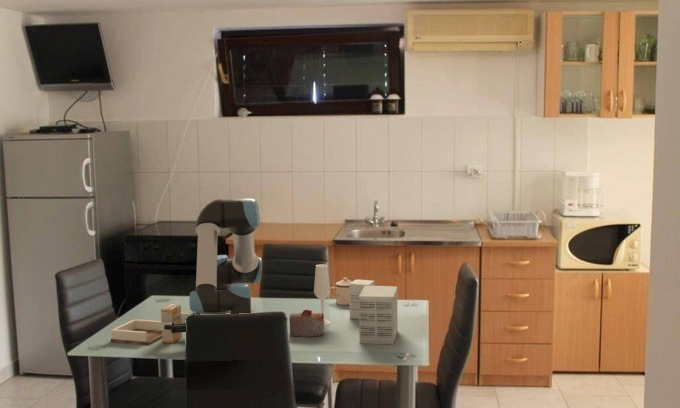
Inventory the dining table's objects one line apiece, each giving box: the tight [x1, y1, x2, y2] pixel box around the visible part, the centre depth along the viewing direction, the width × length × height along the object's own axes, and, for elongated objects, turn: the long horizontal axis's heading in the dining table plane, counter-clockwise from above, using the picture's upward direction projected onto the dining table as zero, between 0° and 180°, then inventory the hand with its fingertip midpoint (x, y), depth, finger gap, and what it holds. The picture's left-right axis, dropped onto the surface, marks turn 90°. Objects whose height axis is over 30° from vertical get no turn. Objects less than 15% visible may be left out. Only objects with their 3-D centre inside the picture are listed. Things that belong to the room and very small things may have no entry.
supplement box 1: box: [160, 303, 183, 344], centre depth 264 cm, size 8×5×13 cm, turn 168°
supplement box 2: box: [348, 279, 376, 320], centre depth 292 cm, size 9×9×15 cm
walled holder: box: [110, 318, 162, 346], centre depth 269 cm, size 17×16×4 cm
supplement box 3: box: [358, 285, 398, 345], centre depth 263 cm, size 17×13×18 cm
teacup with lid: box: [329, 277, 353, 306], centre depth 315 cm, size 12×9×12 cm
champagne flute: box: [313, 263, 331, 326], centre depth 283 cm, size 7×7×24 cm
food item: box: [288, 309, 325, 338], centre depth 268 cm, size 14×8×10 cm, turn 88°
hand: (167, 320), depth 264 cm, fingers open, 13 cm apart
